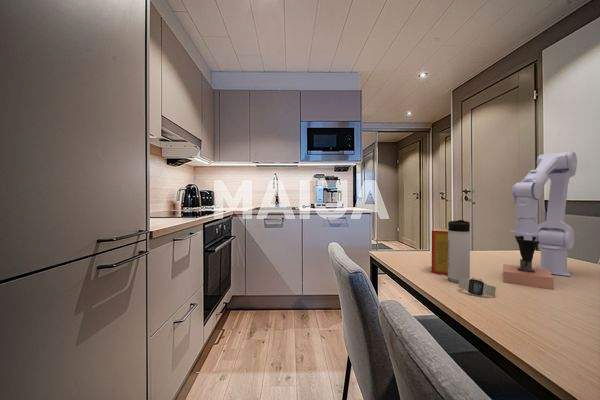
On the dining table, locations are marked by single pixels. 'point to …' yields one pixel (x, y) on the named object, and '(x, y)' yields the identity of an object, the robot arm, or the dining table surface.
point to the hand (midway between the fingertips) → (526, 259)
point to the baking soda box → (440, 251)
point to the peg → (525, 266)
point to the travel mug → (458, 250)
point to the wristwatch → (477, 287)
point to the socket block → (528, 276)
